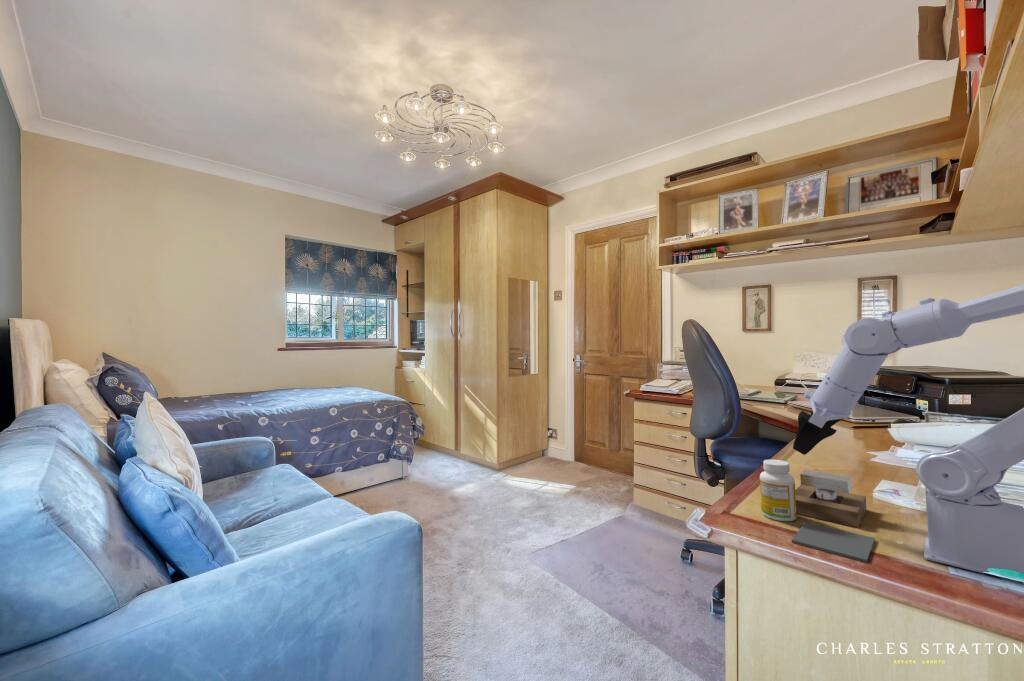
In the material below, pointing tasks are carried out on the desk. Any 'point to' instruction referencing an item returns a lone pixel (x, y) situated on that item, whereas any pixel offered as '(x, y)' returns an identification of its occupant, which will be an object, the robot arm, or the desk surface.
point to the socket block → (831, 506)
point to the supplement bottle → (777, 491)
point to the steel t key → (826, 484)
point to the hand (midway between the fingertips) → (804, 444)
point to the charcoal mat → (835, 541)
